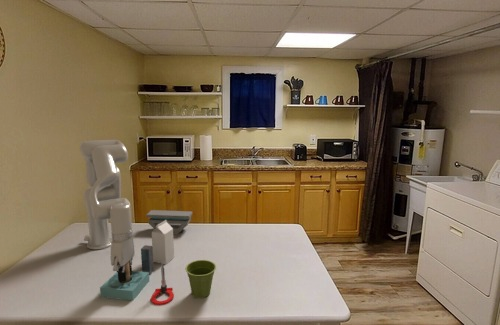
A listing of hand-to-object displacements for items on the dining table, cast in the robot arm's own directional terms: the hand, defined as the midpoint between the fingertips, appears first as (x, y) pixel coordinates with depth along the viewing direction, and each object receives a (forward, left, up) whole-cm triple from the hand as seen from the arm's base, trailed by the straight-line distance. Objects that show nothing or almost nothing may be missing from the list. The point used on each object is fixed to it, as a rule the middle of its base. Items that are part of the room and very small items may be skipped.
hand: (125, 277), depth 125 cm
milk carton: (+5, +25, -5) cm, 26 cm away
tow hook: (+17, -3, -5) cm, 18 cm away
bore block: (0, 0, -5) cm, 5 cm away
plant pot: (+31, +2, -5) cm, 32 cm away
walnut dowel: (0, 0, -4) cm, 4 cm away
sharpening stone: (-6, +59, -5) cm, 59 cm away
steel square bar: (+3, +13, -5) cm, 14 cm away
